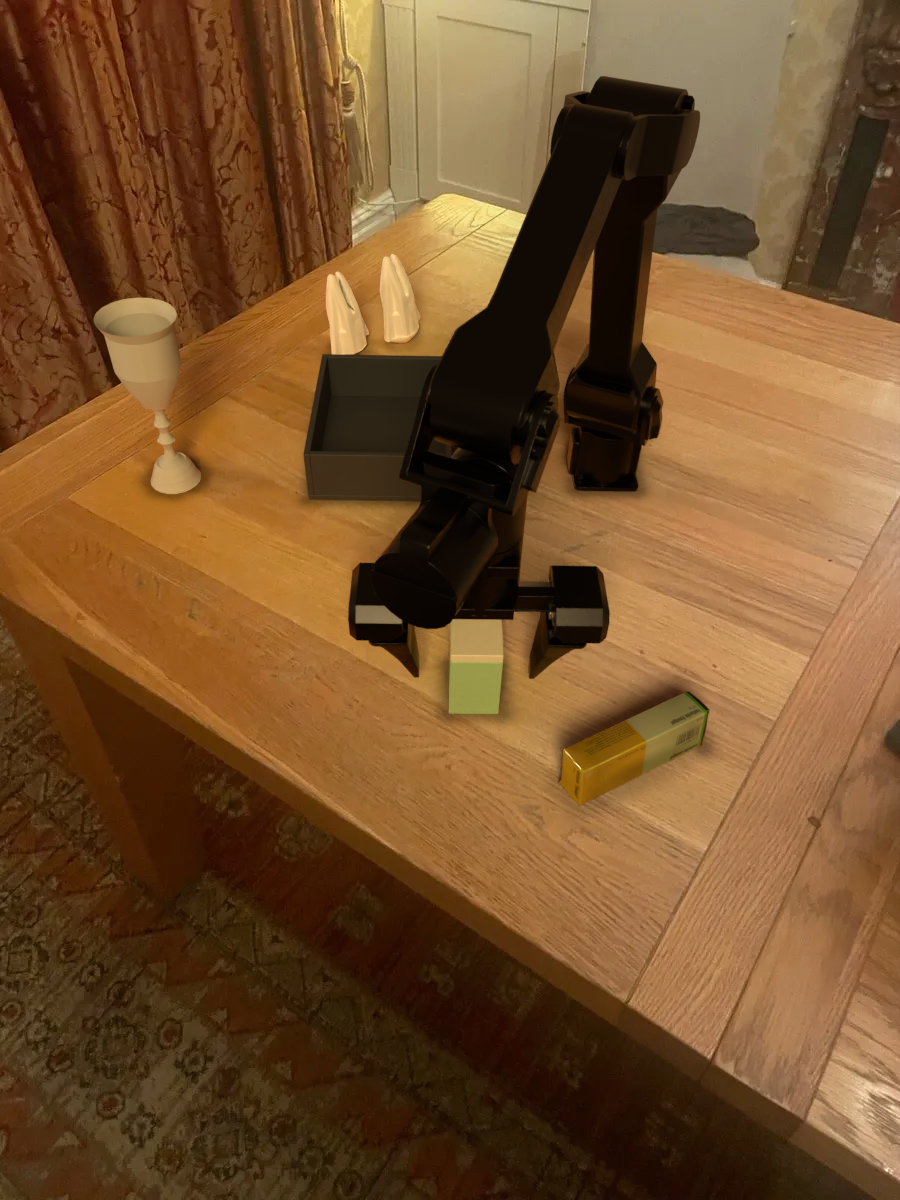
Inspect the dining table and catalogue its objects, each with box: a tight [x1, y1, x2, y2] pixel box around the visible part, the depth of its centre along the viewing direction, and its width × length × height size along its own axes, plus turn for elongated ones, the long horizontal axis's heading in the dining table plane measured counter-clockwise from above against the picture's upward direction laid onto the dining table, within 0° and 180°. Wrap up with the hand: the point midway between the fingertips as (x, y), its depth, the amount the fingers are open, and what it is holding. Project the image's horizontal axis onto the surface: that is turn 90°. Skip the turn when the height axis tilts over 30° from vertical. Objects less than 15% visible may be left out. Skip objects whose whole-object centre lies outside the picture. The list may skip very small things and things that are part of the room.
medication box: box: [559, 690, 711, 806], centre depth 68 cm, size 12×3×4 cm, turn 119°
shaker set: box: [325, 253, 421, 355], centre depth 108 cm, size 12×4×11 cm, turn 108°
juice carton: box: [448, 619, 505, 715], centre depth 72 cm, size 4×5×7 cm
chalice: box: [93, 297, 202, 495], centre depth 86 cm, size 7×7×18 cm
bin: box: [302, 353, 452, 502], centre depth 95 cm, size 14×18×6 cm
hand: (473, 673), depth 73 cm, fingers open, 9 cm apart
